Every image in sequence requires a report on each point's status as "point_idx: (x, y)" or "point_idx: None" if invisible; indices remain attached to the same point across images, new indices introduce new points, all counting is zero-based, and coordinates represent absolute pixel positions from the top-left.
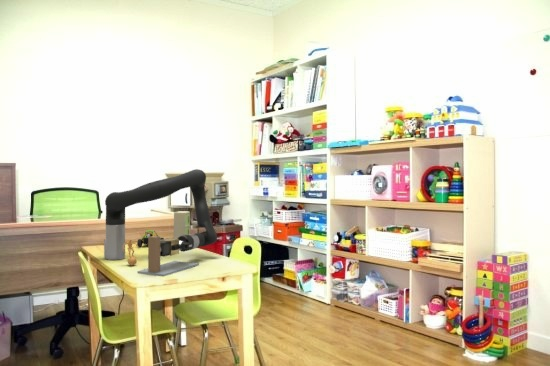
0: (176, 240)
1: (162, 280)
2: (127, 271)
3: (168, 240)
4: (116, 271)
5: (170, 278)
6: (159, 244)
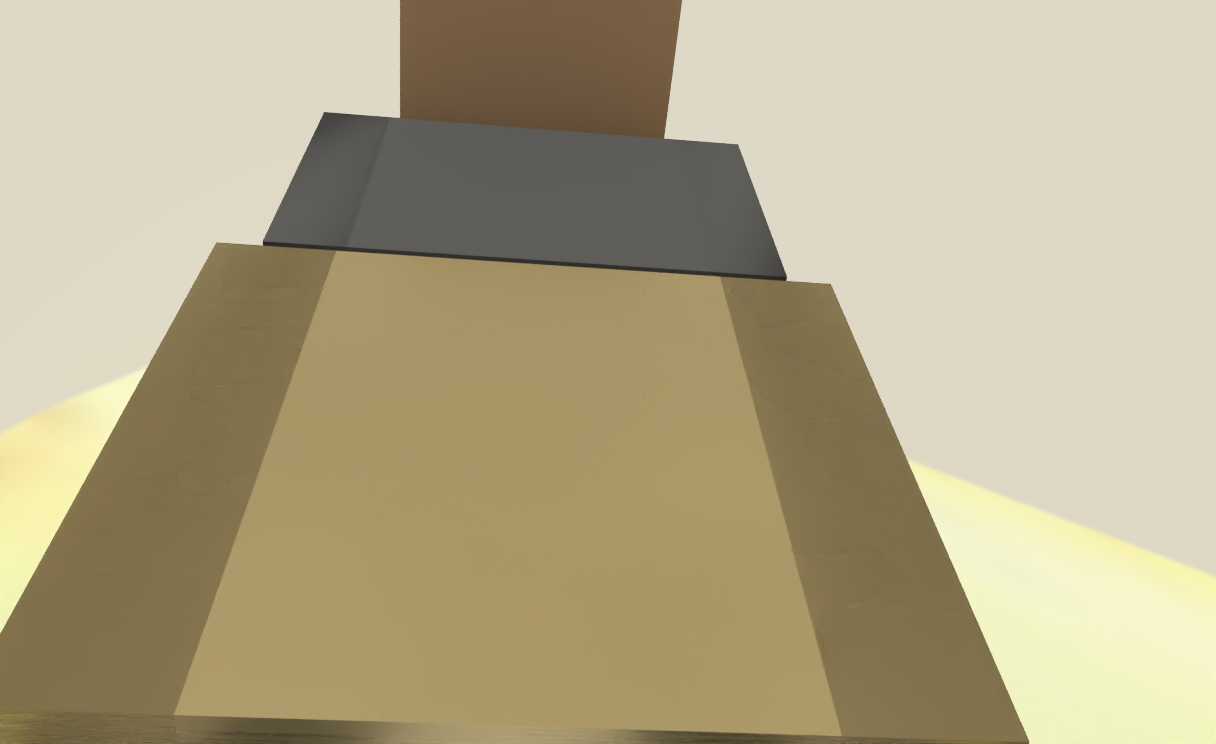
0: (90, 511)
1: (111, 394)
2: (1051, 613)
3: (416, 299)
4: (1179, 563)
5: (24, 489)
6: (404, 99)
